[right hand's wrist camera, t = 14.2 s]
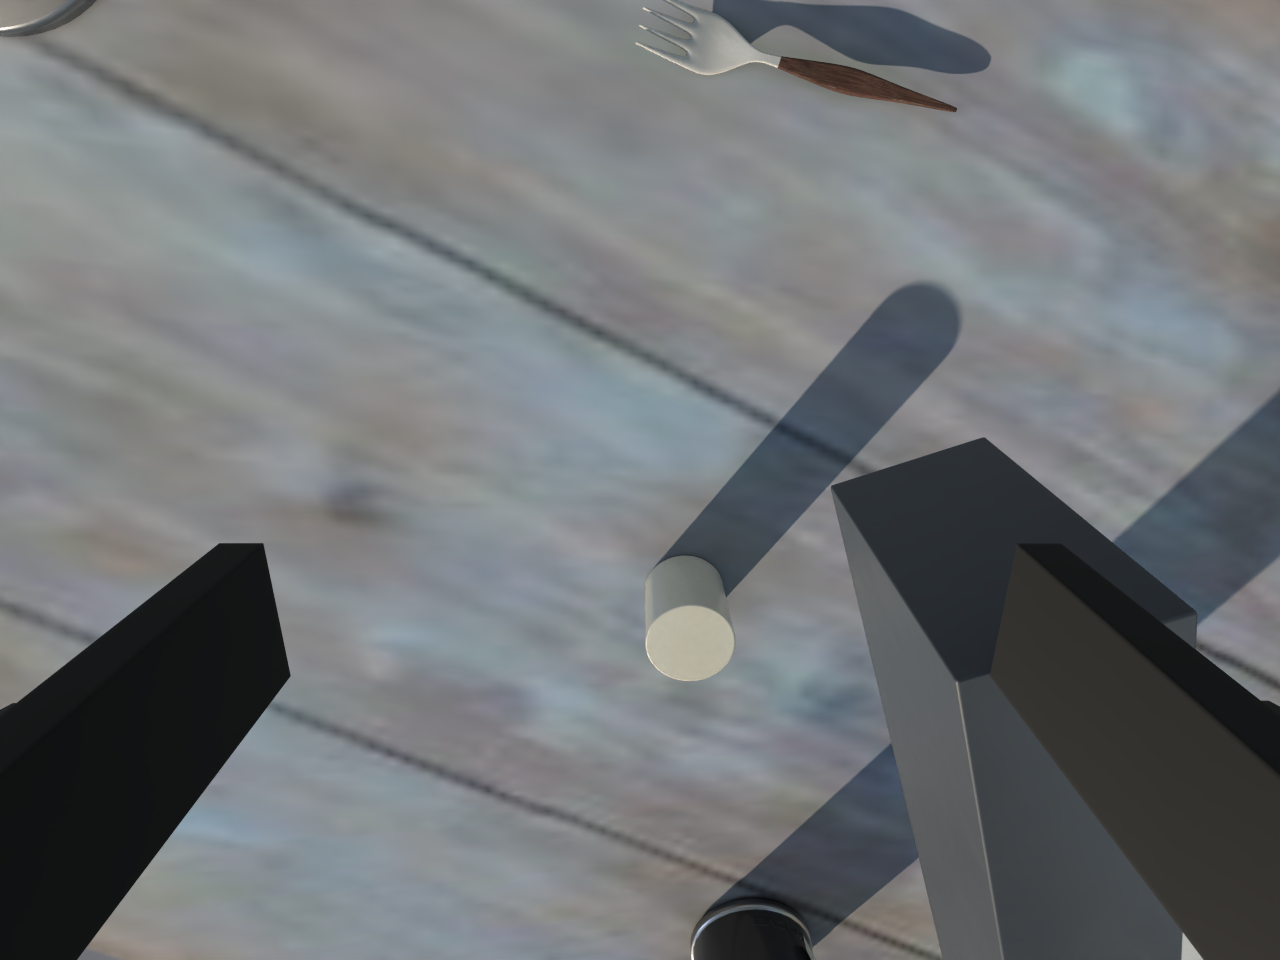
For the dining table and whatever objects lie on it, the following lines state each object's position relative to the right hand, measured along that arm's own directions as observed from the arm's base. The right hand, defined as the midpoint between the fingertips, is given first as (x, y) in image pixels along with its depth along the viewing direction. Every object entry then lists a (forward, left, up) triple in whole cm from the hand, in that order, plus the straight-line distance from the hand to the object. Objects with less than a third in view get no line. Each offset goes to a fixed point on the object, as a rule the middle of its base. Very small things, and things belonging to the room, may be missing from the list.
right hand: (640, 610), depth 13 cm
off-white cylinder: (+16, +3, -29) cm, 33 cm away
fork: (-13, +8, -29) cm, 33 cm away
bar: (+13, +12, -10) cm, 20 cm away
